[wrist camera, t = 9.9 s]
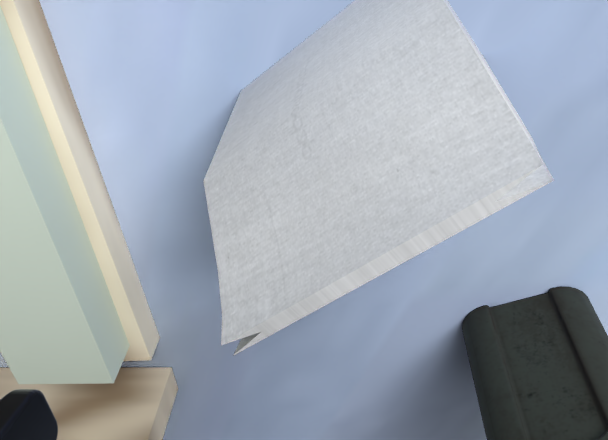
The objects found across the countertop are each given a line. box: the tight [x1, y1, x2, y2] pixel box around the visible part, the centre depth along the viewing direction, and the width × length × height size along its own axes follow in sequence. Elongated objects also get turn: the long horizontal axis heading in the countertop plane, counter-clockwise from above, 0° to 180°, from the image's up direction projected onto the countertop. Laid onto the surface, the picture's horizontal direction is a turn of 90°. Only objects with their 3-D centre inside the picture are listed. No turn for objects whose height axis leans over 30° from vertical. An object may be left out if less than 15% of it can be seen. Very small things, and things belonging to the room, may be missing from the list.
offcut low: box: [0, 0, 160, 361], centre depth 21 cm, size 5×16×2 cm, turn 7°
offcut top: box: [0, 6, 130, 384], centre depth 20 cm, size 4×14×2 cm, turn 6°
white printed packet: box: [203, 0, 554, 356], centre depth 14 cm, size 4×7×10 cm, turn 129°
